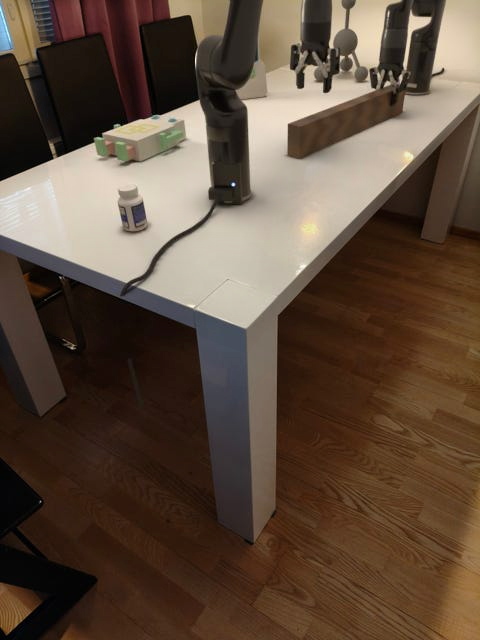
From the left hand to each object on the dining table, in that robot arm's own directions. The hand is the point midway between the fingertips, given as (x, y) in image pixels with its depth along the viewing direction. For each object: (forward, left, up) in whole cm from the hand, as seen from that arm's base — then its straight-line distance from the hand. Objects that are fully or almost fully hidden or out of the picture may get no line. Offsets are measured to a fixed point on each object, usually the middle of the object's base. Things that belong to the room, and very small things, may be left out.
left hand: (313, 90), depth 129 cm
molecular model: (+87, -8, -16) cm, 89 cm away
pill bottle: (-49, +36, -16) cm, 63 cm away
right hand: (+32, -23, -12) cm, 41 cm away
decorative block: (0, +50, -16) cm, 52 cm away
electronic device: (+60, +26, -16) cm, 67 cm away
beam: (+16, -11, -16) cm, 25 cm away
